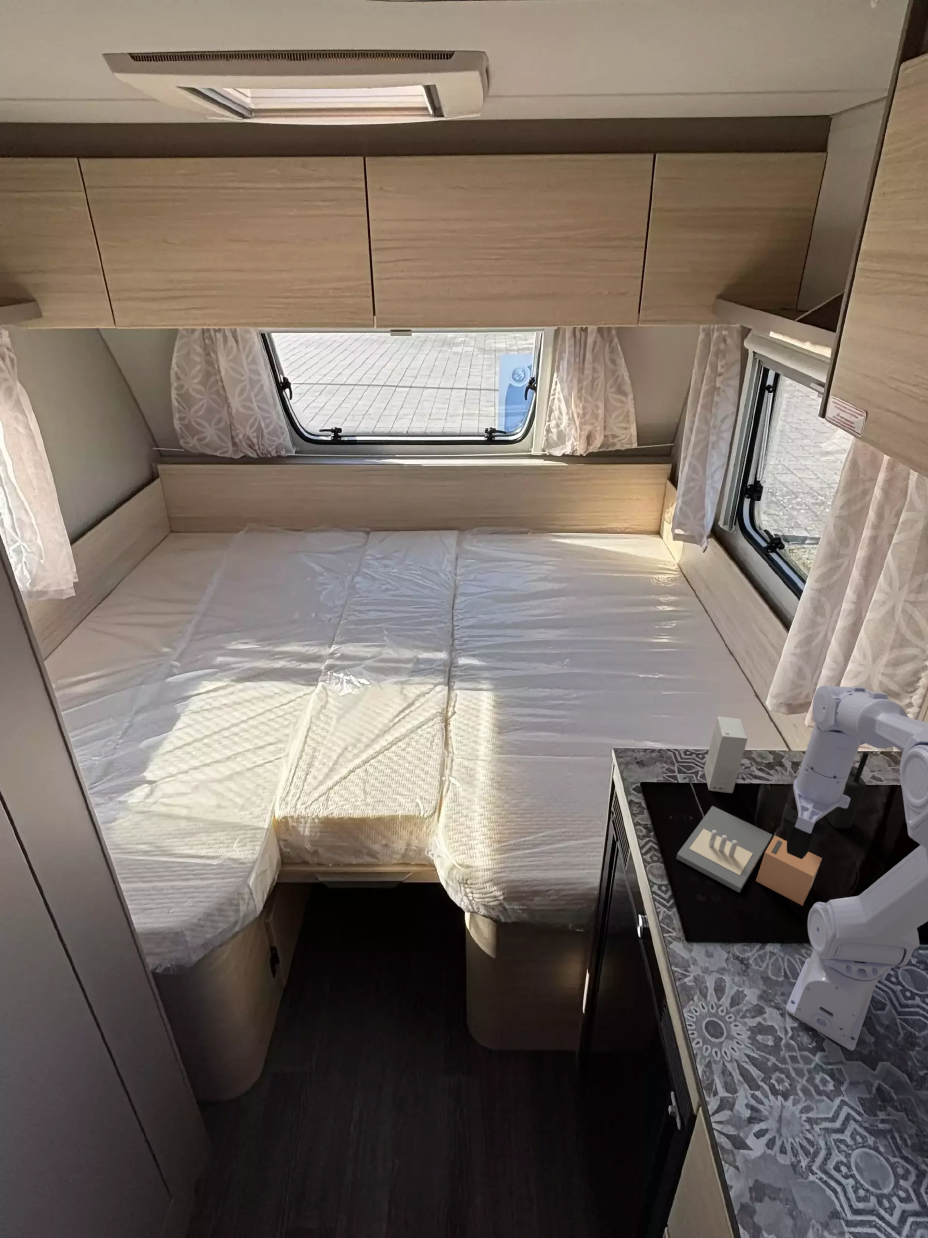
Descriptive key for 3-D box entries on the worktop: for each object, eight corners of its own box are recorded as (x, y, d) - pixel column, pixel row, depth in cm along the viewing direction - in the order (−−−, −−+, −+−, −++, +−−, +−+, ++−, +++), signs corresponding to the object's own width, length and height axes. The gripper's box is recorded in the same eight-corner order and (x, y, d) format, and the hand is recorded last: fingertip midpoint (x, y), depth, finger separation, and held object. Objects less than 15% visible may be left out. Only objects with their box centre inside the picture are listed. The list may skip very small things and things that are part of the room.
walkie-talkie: (819, 809, 120) (844, 739, 113) (838, 809, 120) (864, 739, 113) (834, 830, 116) (861, 758, 109) (854, 829, 116) (882, 758, 109)
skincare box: (733, 794, 123) (748, 739, 117) (708, 791, 123) (721, 736, 118) (727, 771, 128) (741, 718, 122) (703, 768, 128) (716, 715, 123)
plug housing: (802, 905, 102) (813, 876, 99) (755, 881, 106) (765, 852, 103) (811, 887, 105) (822, 857, 102) (765, 864, 109) (774, 835, 106)
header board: (739, 892, 104) (745, 873, 102) (676, 858, 109) (680, 839, 107) (770, 839, 113) (776, 820, 111) (711, 810, 119) (716, 791, 117)
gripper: (849, 807, 87) (820, 884, 94) (867, 748, 98) (840, 821, 104) (790, 784, 91) (766, 859, 97) (814, 730, 101) (791, 801, 108)
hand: (801, 838), depth 101 cm, fingers open, 7 cm apart
